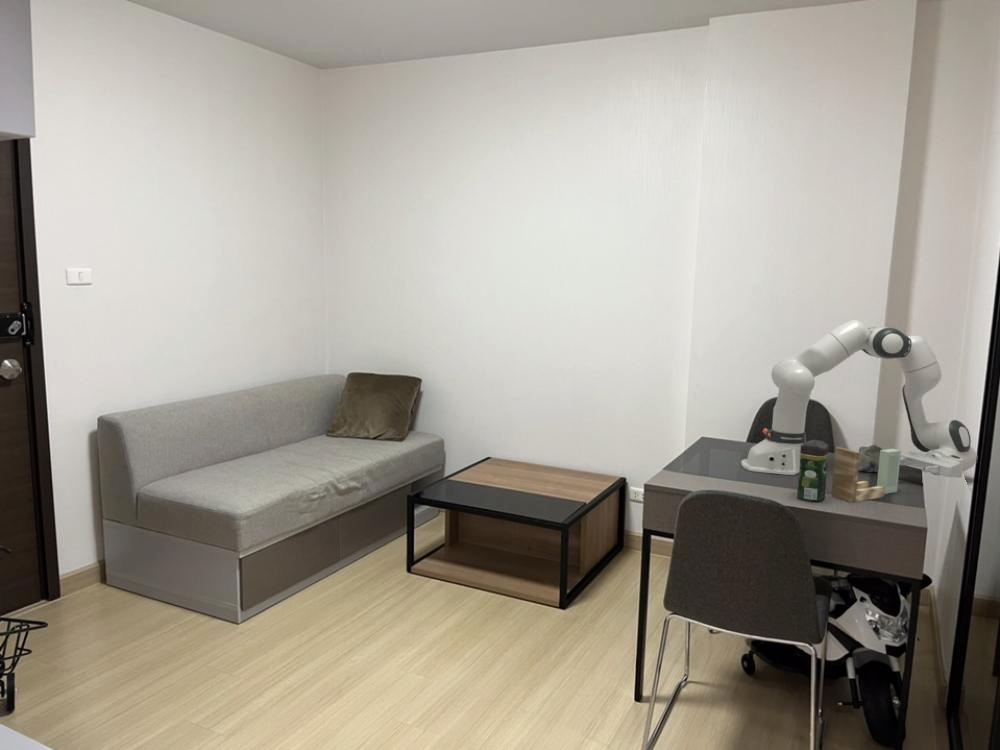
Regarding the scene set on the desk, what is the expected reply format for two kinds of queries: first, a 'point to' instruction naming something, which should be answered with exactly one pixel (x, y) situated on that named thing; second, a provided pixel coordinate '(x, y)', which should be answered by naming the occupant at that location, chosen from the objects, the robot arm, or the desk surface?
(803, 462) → the coffee jar
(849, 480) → the track
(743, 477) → the desk surface
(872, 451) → the mineral rock
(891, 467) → the mint green rectangular block
